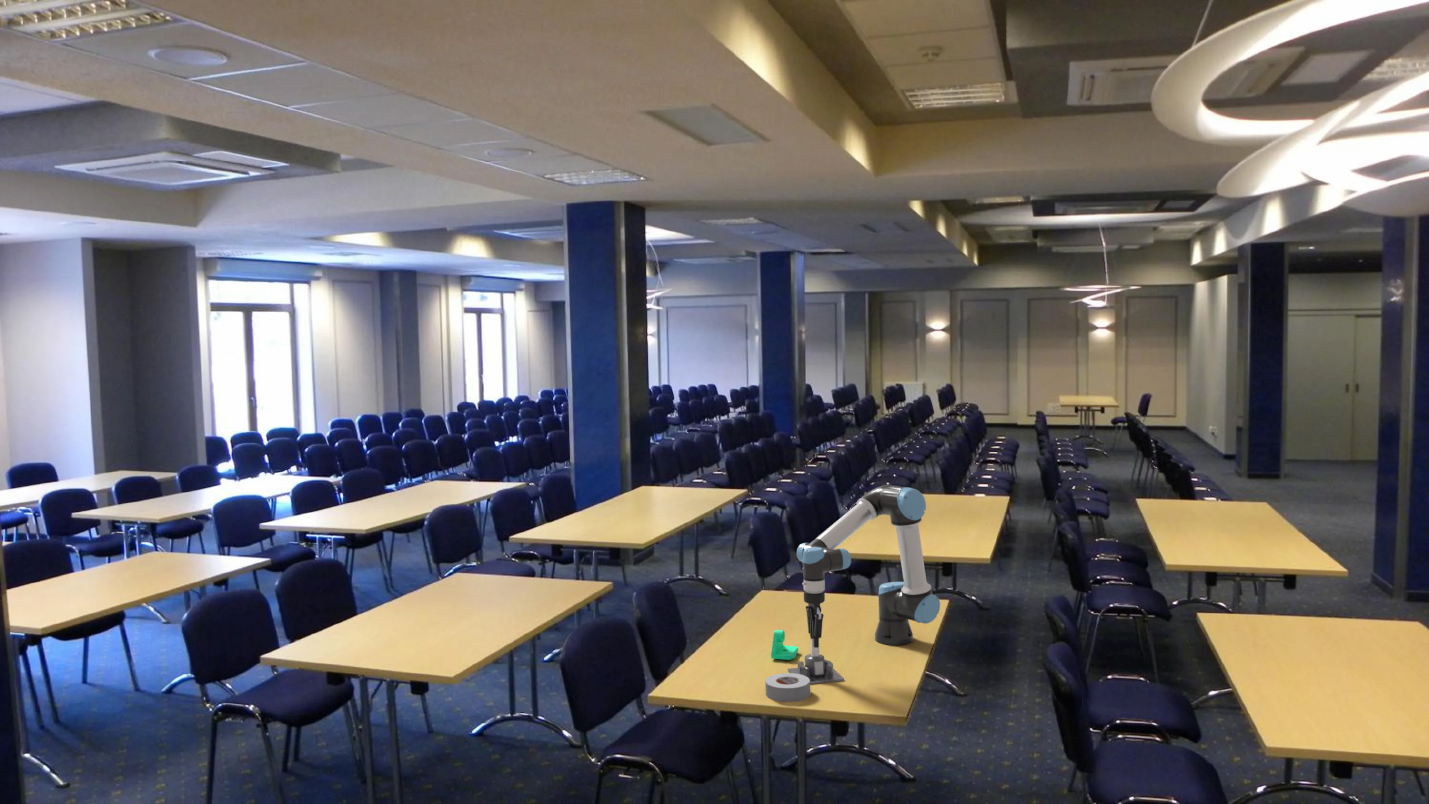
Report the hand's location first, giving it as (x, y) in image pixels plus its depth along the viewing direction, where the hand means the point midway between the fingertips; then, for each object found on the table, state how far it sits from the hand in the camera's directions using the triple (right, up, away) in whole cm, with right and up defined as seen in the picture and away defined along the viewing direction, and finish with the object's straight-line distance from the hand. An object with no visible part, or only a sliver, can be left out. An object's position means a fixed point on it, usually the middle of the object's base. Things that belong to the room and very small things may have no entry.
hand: (815, 655), depth 361 cm
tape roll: (-11, -9, -17) cm, 23 cm away
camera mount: (-9, -7, +23) cm, 26 cm away
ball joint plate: (0, -8, 0) cm, 8 cm away
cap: (0, -7, 0) cm, 7 cm away
